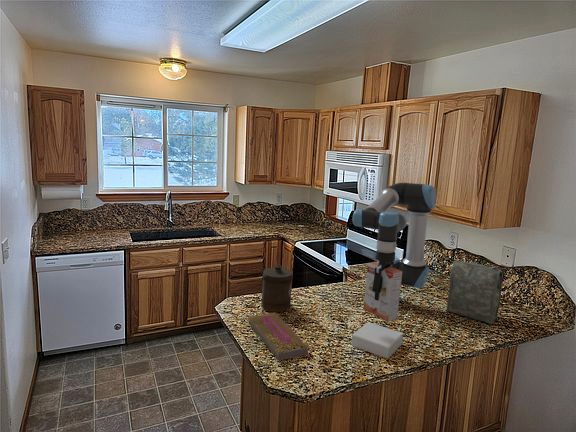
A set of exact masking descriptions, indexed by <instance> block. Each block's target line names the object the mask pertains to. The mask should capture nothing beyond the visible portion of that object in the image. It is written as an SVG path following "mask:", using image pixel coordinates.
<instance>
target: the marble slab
mask: <svg viewBox="0 0 576 432" xmlns="http://www.w3.org/2000/svg"><path fill="white" fill-rule="evenodd" d="M403 338H404V333H403V332H400V331H397V330H394V329H392V328H391V329H390V328H388V327H385V326H381V325H378V324H375V323H373V322H369V321H368V322H367V323H365V324H364V325H363V326H362V327H360V328H359V329H357V330H356V331H355V332H354V333H353V334H352V336H351V346H352V347H354V348H357V349H360V350H363V351H366V352H368V353H370V354H371V353H372V354H373V355H377V356H380V357H382V358H384V359H389V358H390V357H392V355H393V354H394V353H395V352H396V351H397V350H398V349H399V347H400V346H401V345H402V344H403Z"/></svg>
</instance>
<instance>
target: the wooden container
mask: <svg viewBox="0 0 576 432" xmlns="http://www.w3.org/2000/svg"><path fill="white" fill-rule="evenodd" d="M292 279H293V271H291V270H290V269H287V268H284V267H282V265H281V264H275V265H274V267H268V268H265V269H264V270H263V273H262V286H261V287H262V289H261V308H262V309H264V310H266V311H267V312H271V313H275V312H276V313H280V312H281V313H282V312H285V311H288V310H289V309H290V308H291V304H292V283H293V282H292Z"/></svg>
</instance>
